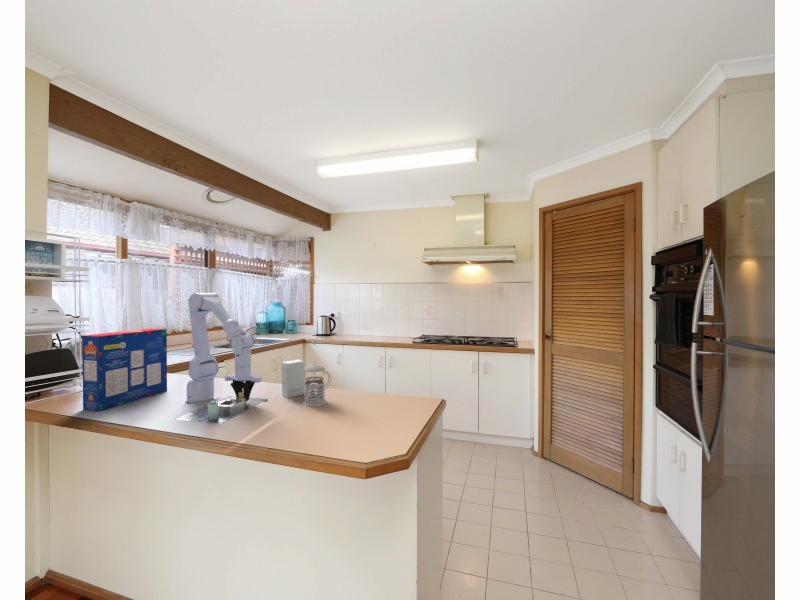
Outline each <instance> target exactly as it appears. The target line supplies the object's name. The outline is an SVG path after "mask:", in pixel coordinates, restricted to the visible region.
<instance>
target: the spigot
mask: <svg viewBox="0 0 800 600" xmlns="http://www.w3.org/2000/svg"><path fill="white" fill-rule="evenodd" d="M216 401H217V400H210V401H209V403H207V405H208V420H215V419H218V403H217V402H216Z"/></svg>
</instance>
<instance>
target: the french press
mask: <svg viewBox="0 0 800 600" xmlns="http://www.w3.org/2000/svg"><path fill="white" fill-rule="evenodd" d="M317 344H318V342H317V340H312V344H311V345H317ZM313 360H314V364H311V365H308V366H306V367H304V372H308V373H314V374H313V375H314V376H309V377H306V378H304V386H305V394H304V401H302V403H301V404H302V406H304V407H320V406H324V405H325V404H327V402H328V401H327V400H326V398H325V397H326V395H325V394H326V392H325V390H326V389H327V388H329V386H330V385H331V380H332V377H331V374H330V373H329V372H328V371H326V370H325V369H326V368H325V367H324V366H323V365H320V364H317V363H316V359H313ZM318 372H321V373H322V375H325V374H327V377H328V380H327V383H326V384H325V382H324V377H323V376H318V375H317V376H316V373H318Z"/></svg>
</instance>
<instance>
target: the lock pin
mask: <svg viewBox="0 0 800 600" xmlns="http://www.w3.org/2000/svg"><path fill="white" fill-rule="evenodd" d="M238 398H244V391H243V390H242V391H240V392H238ZM247 401H248V400H247ZM247 401H245V402H247ZM234 403H235V402H234ZM231 404H233V403H231ZM231 404H229V405H231Z"/></svg>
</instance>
